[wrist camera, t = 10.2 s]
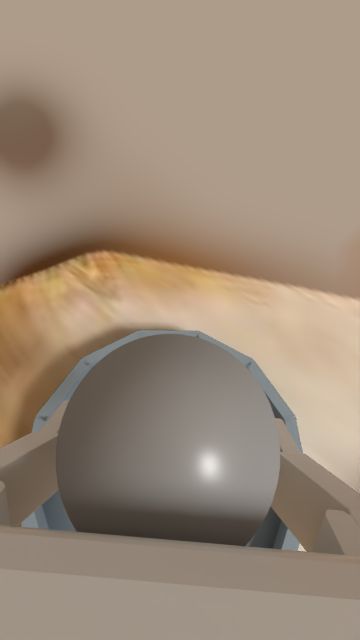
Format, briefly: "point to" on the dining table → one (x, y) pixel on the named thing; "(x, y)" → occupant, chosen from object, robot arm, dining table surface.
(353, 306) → the dining table surface
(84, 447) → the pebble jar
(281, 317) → the dining table surface
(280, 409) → the dish
